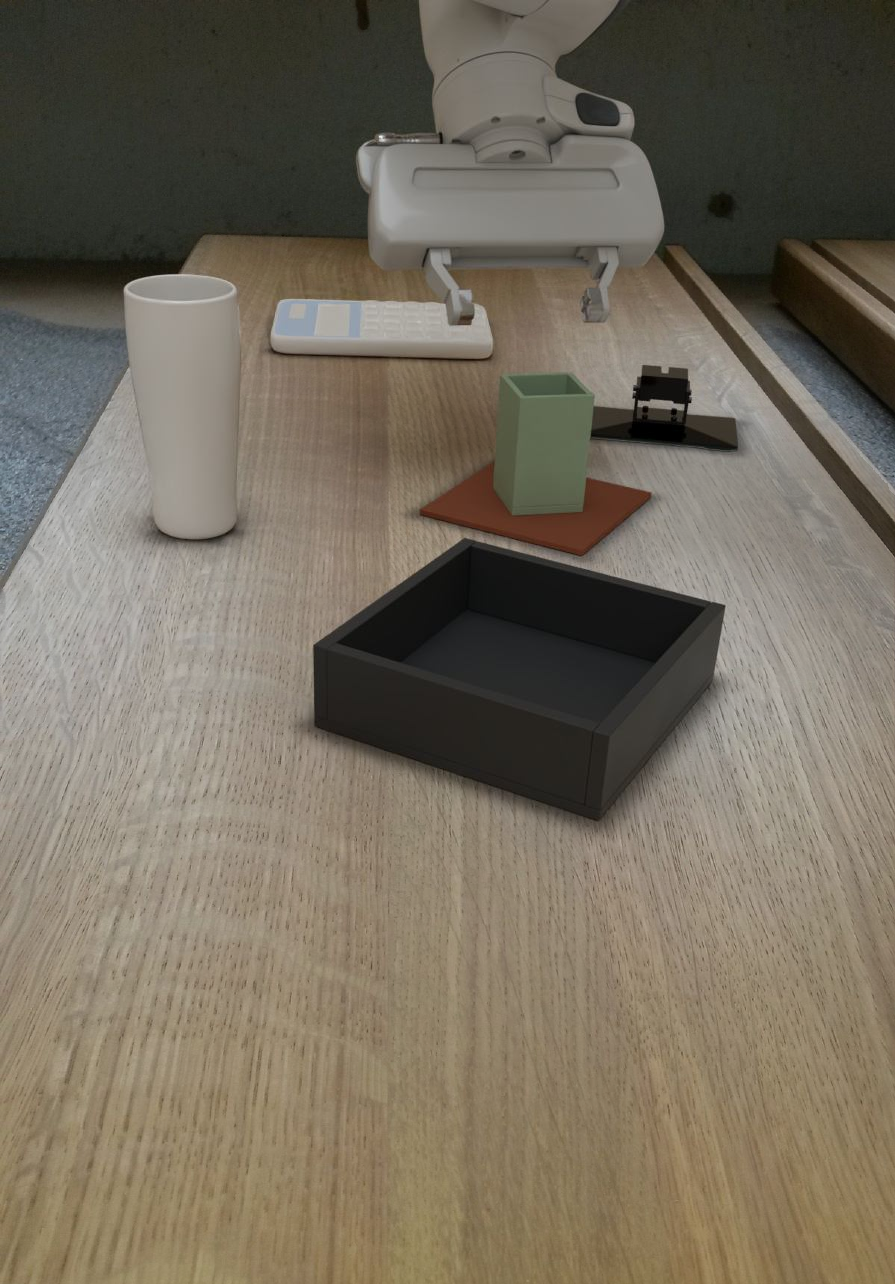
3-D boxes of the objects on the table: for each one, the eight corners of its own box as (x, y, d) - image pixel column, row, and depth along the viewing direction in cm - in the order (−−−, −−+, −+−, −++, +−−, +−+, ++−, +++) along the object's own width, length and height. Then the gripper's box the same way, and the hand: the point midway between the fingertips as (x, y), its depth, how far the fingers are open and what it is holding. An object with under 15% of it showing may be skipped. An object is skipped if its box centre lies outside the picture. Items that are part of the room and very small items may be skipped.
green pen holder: (560, 485, 96) (571, 372, 91) (582, 512, 92) (594, 395, 87) (492, 488, 95) (499, 374, 90) (511, 516, 91) (520, 398, 86)
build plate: (734, 423, 110) (744, 366, 108) (737, 454, 104) (748, 394, 102) (582, 408, 111) (588, 351, 109) (576, 438, 105) (583, 378, 103)
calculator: (494, 361, 121) (495, 339, 120) (269, 354, 120) (268, 333, 119) (484, 320, 132) (485, 300, 131) (278, 314, 131) (277, 294, 130)
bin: (713, 681, 74) (726, 604, 71) (598, 821, 62) (609, 735, 60) (460, 610, 80) (464, 537, 77) (314, 726, 68) (312, 644, 66)
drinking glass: (177, 556, 84) (158, 308, 76) (124, 521, 88) (100, 282, 80) (269, 532, 88) (260, 292, 80) (213, 499, 92) (200, 268, 84)
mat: (651, 497, 96) (651, 492, 95) (581, 556, 87) (582, 550, 87) (499, 462, 100) (500, 457, 100) (419, 514, 91) (419, 509, 91)
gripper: (358, 102, 88) (385, 296, 86) (654, 106, 92) (687, 291, 90) (346, 164, 94) (371, 347, 92) (624, 166, 98) (655, 341, 96)
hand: (530, 320), depth 91 cm, fingers open, 8 cm apart
